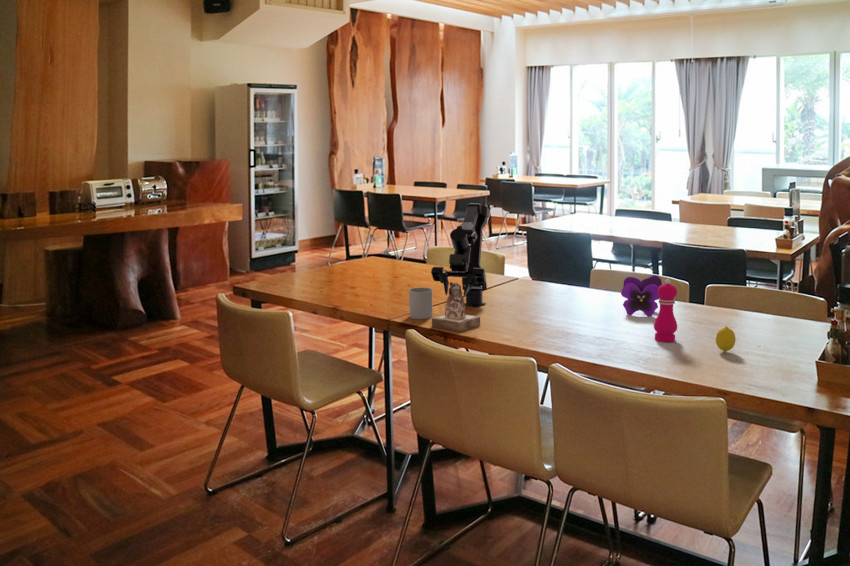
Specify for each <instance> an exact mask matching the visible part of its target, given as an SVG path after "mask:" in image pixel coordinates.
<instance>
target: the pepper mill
mask: <svg viewBox="0 0 850 566" xmlns="http://www.w3.org/2000/svg"><path fill="white" fill-rule="evenodd" d="M657 293H658V296H659V297H660V298H659V299H658V304H659V311H658V314H657V316H656V318H655V320H654V323H653V329H654V330H655V332H656V333H654V340H655V341H656V342H661V343H672V342H673V343H674V342H675V341H676V335H675V333H676V331H677V330H678V324H677V319H676V317H675V314H674V305H675V304H676V302H675V301H676V299H675V298H676V297H677V295H678V289H677V287H676V286H675V285H674V284H672V283H671V280H670V279H669V278H667V279H665V280H664V283H662V285H661V286H659V288H658V291H657Z"/></svg>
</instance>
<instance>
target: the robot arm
mask: <svg viewBox="0 0 850 566" xmlns="http://www.w3.org/2000/svg"><path fill="white" fill-rule="evenodd" d="M488 218H490V209H489V207H488V206H487V205H482V204H481V203H478V202H477V203H476V202H469V203H467V205H466V206H465V216H464V218H463V222H462V223H460V224H459V225H457V226H456V228H455V229H453V230H451V232H450V233H449V238H450V241H451V245H452V247H453V249H454V253H450V254H449V256H448V257H449V259H448V264H449V269H450V270H447V269H444V266H433V267H431V271H430V274H431V277H432V280H433V281H434V282H439V283H441V284H443V287H444V294H445V295H446V296H447V295H448V294H449V286H450V282H449V279H448V278H449V277H452V278H461V282H462V285H461V287H462V291H463V297H465V302H464V306H467V307H468V306H469V307H474V308H476V307H477V308H478V307H480V306H484V305H486V302H483V291H487V290H488V284H487V279H486V278H487V275H486V270H485V269H484V267H482V266H481V258H482V256H481V255H482V244H483V243H482V242H483V230H484V228H485V226H486V225H487V223H488Z"/></svg>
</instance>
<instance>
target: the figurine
mask: <svg viewBox="0 0 850 566" xmlns="http://www.w3.org/2000/svg"><path fill="white" fill-rule="evenodd" d="M449 286H450V287H448V296H447V299H446V302H445V308H444V315H445V317H446V318H450V319H461V318H464V317H465V316H466V314H467V313H466V309H465V305H464V303H465V296H464V295H463V292H462V291H463V290H462V285H460V284H459V283H457V282H456V283H455V282H453V281H451V282H449Z"/></svg>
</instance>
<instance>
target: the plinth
mask: <svg viewBox="0 0 850 566" xmlns="http://www.w3.org/2000/svg"><path fill="white" fill-rule="evenodd" d="M465 314H466V316H465V317H464V318H461V319H450V318H446V317H445V314H442V315H437V316H434V317H431V327H432V328H437V329H442V330H446V331H452V332H456V333H460V332H463V331H466V330H470V329H472V328H476V327H479V326H481V316H477V315H471V314H467V313H465Z"/></svg>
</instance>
